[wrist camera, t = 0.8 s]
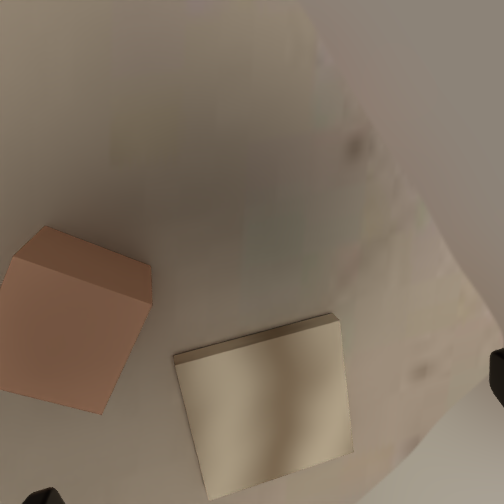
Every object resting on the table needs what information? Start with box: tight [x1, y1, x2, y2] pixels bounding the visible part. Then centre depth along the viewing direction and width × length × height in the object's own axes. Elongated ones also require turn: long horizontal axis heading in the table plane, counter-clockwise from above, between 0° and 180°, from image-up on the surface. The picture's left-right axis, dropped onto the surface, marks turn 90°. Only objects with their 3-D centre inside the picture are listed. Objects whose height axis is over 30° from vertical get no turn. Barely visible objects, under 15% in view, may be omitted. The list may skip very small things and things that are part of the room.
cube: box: [0, 226, 153, 415], centre depth 18 cm, size 5×5×5 cm
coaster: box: [174, 313, 354, 501], centre depth 24 cm, size 9×9×1 cm
